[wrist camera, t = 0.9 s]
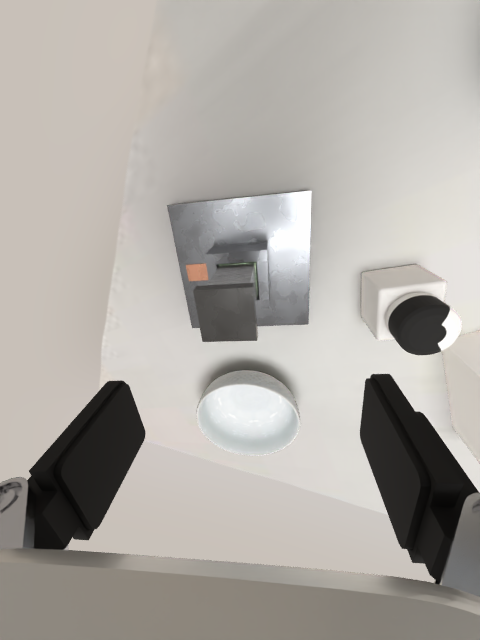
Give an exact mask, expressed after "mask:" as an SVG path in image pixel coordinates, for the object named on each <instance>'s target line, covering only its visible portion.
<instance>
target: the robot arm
mask: <svg viewBox="0 0 480 640" xmlns="http://www.w3.org/2000/svg"><path fill="white" fill-rule="evenodd" d="M360 438H361V442H362V445H363V447H364V450H365V453H366V456H367V458H368V461H369V464H370V466H371V469H372V472H373V475H374V477H375V480H376V483H377V485H378V488H379V491H380V493H381V496H382V499H383V502H384V504H385V507H386V510H387V512H388V515H389V518H390V521H391V523H392V526H393V529H394V531H395V534H396V537H397V540H398V542H399V544H400V546H401V547H402V549H407V550H408V552H409V555H410V557H411V560H412V562H413V563H425V564H426V567H427V569H428V571H429V574H430V575H431V576H432V577H433V578H434V579H435V580H434V583H430V582H426V581H419V580H413V579H406V578H399V577H393V576H383V575H374V574H364V573H354V572H344V571H334V570H323V569H311V568H299V567H286V566H274V565H262V564H250V563H237V562H224V561H211V560H198V559H185V558H172V557H158V556H145V555H130V554H116V553H101V552H86V551H73V550H68V544H69V542H70V540H71V538H72V537H73V538H74V539H79V540H89V538H90V536H91V535H92V533H93V531H94V529H97V528H98V527H99V525H100V524H101V522H102V520H103V518H104V516H105V514H106V512H107V510H108V509H109V507H110V505H111V503H112V501H113V499H114V497H115V495H116V493H117V491H118V489H119V487H120V485H121V484H122V481H123V480H124V478H125V476H126V474H127V471H128V470H129V468H130V466H131V464H132V462H133V460H134V458H135V457H136V454H137V453H138V451H139V449H140V447H141V445H142V443H143V441H144V439H145V429H144V426H143V424H142V421H141V418H140V415H139V412H138V410H137V407H136V404H135V401H134V398H133V396H132V393H131V390H130V387H129V385H128V384H126V383H125V382H124V381H108V382H107V383H106V384H105V385H104V386H103V387H102V388H101V390H100V391H99V392H98V393H97V394H96V395H95V396H94V398H93V399H92V400H91V401H90V402H89V403H88V404H87V406H86V407H85V408H84V409H83V410H82V411H81V412H80V413H79V415H78V416H77V417H76V418H75V419H74V420H73V421H72V423H71V424H70V425H69V426H68V427H67V428H66V429H65V431H64V432H63V433H62V434H61V435H60V436H59V438H57V440H56V441H55V442H54V443H53V444H52V445H51V447H50V448H49V449H48V450H47V451H46V452H45V453H44V454H43V456H42V457H41V458H40V459H39V460H38V461H37V462H36V464H35V465H34V466H33V467H32V468H31V469H30V470H29V472H30V474H31V475H32V476H31V477H30V478H29V479H28V480H26V479H25V478H22V477H16V478H11V479H8V480H6V481H3V482H1V483H0V640H480V493H479V492H478V490H477V489H476V488H475V486H474V485H473V483H472V482H471V480H470V479H469V478H468V476H467V475H466V473H465V472H464V470H463V469H462V468H461V466H460V465H459V463H458V462H457V460H456V459H455V458H454V456H453V455H452V453H451V452H450V451H449V449H448V448H447V446H446V445H445V443H444V442H443V441H442V439H441V438H440V436H439V435H438V433H437V432H436V431H435V429H434V428H433V426H432V425H431V423H430V422H429V421H428V419H427V418H426V417H425V415H424V414H423V413H421V412H415V411H414V409H413V408H412V406H411V405H410V403H409V402H408V400H407V399H406V397H405V396H404V394H403V393H402V391H401V390H400V388H399V387H398V385H397V384H396V382H395V381H394V379H393V378H392V376H391V375H390V374H372V375H371V378H369V379H366V381H365V390H364V399H363V408H362V418H361V427H360Z"/></svg>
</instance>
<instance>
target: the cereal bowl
mask: <svg viewBox="0 0 480 640" xmlns="http://www.w3.org/2000/svg"><path fill="white" fill-rule="evenodd" d="M197 422H198V425H199V428H200V430H201V431H202V433H203V434H204V435H205V436H206V437H207V439H208V440H210V441H211V442H212V443H213V444H215V445H216V446H218V447H220V448H222V449H224V450H226V451H229V452H232V453H236V454H240V455H248V456H260V455H267V454H272V453H275V452H277V451H280V450H282V449H284V448H285V447H287V446H288V445H289V444H290V443H291V442H292V441H293V440H294V439H295V438H296V436H297V434H298V432H299V429H300V416H299V410H298V407H297V404H296V401H295V399H294V397H293V395H292V393H291V392H290V391H289V389H288V388H287V387H286V386H285V385H284V384H283V383H281V382H280V381H279V380H277V379H276V378H274V377H272V376H270V375H268V374H265V373H262V372H258V371H250V370H241V371H234V372H230V373H227V374H224V375H222V376H220V377H219V378H217V379H215V380H214V381H213V382H212V383H211V384H210V385H209V386H208V387H207V388H206V390H205V391H204V393H203V395H202V397H201V399H200V402H199V404H198V407H197Z"/></svg>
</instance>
